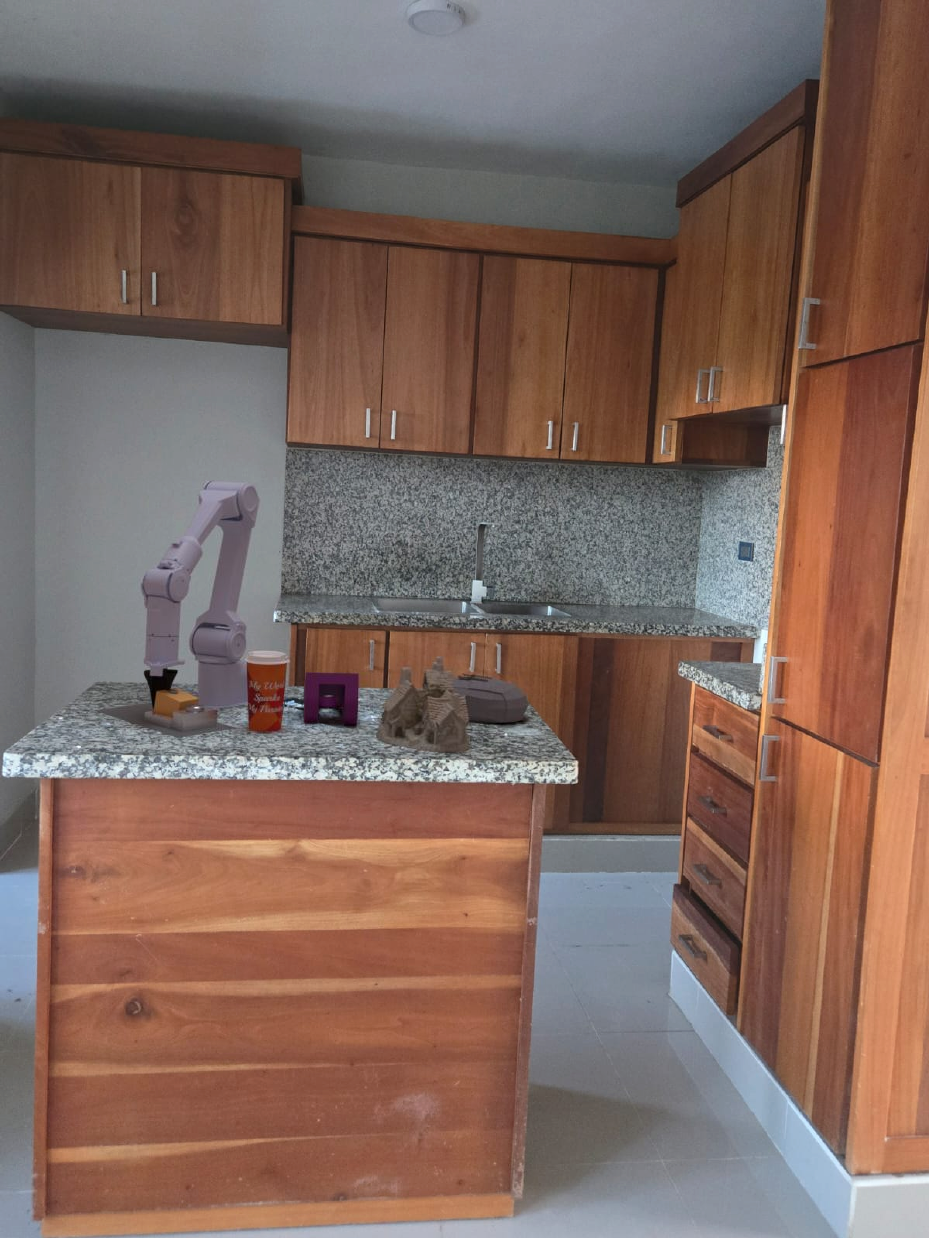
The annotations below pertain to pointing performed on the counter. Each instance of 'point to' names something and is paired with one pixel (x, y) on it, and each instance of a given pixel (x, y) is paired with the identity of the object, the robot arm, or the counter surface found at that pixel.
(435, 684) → the ceramic cottage
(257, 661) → the paper cup
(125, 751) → the counter surface
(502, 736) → the counter surface
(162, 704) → the block
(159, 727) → the mat
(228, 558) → the robot arm
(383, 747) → the counter surface
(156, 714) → the sliding latch
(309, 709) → the mounting bracket
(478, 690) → the grey rounded bag
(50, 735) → the counter surface
